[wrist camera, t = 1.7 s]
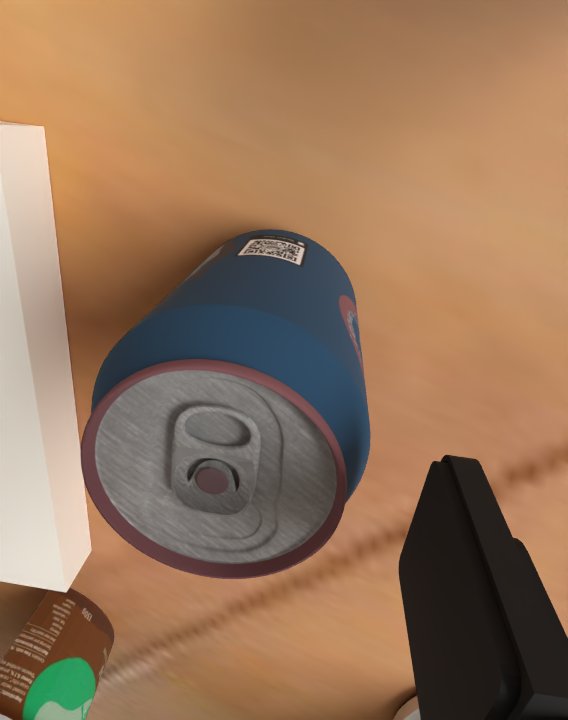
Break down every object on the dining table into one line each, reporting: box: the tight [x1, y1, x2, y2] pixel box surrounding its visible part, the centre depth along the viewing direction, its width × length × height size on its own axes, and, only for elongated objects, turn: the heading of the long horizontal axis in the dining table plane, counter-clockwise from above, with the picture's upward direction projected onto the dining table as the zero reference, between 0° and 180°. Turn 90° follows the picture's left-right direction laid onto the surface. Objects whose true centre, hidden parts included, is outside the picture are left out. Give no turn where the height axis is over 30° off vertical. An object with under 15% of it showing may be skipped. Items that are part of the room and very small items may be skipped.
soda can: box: [81, 230, 370, 579], centre depth 15 cm, size 7×7×12 cm
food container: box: [0, 588, 114, 720], centre depth 28 cm, size 12×6×10 cm, turn 160°
